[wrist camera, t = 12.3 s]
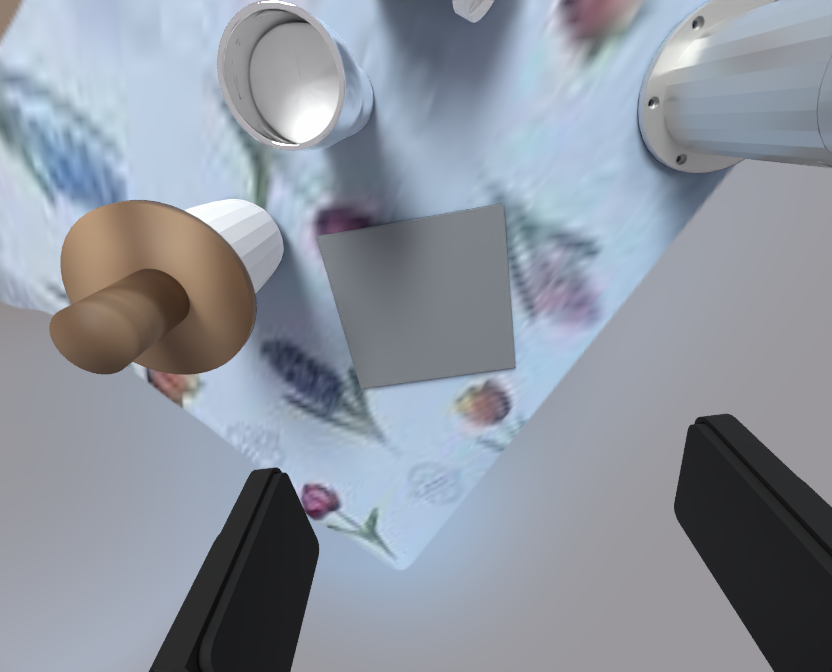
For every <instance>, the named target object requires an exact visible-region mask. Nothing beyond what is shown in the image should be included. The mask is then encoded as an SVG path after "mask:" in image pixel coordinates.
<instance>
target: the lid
mask: <svg viewBox="0 0 832 672" xmlns="http://www.w3.org/2000/svg"><path fill="white" fill-rule="evenodd" d="M61 274H62V280H63V283H64V287H65V290H66V293H67V295H68V297H69V300H70V302H71V304H72V305H70V306H68V307H66V308H64V309H62V310H60V311H59V312H57V313H56V314H55V315H54V316H53V318H52V319H51V322H50V335H51V338H52V341H53V343H54V344H55V346H56V348H57V349H58V350H59V352H60V353H61V354H62V355H63V356H64V357H65V358H66V359H67V360H69V361H70V362H71V363H73V364H74V365H76V366H78V367H79V368H81V369H84V370H86V371H89V372H92V373H96V374H112V373H116V372H119V371H121V370H123V369H124V368H125V367H126V366H128V365H129V364H130V363H131V362H134V363H137V364H139V365H141V366H144V367H147V368H150V369H153V370H156V371H160V372H165V373H171V374H198V373H203V372H208V371H210V370H213V369H216V368H218V367H220V366H222V365H224V364H226V363H227V362H228V361H229V360H231V359H232V358H233V357H234V356H235V355H236V354H237V353H238V352H239V351H240V349H241V348H242V347H243V346H244V345H245V343H246V342H247V340H248V339H249V337H250V335H251V333H252V330H253V328H254V324H255V320H256V311H257V306H256V296H255V291H254V287H253V284H252V281H251V278H250V275H249V273H248V271H247V269H246V267H245V265H244V264H243V262H242V260H241V259H240V257H239V255H238V254H237V253H236V252H235V250H234V249H233V248H232V246H231V245H230V244H229V243H228V242H227V241H226V240H225V239H224V238H223V237H222V236H221V235H220V234H219V233H218V232H217V231H215V230H214V229H213V228H212V227H211V226H209V225H208V224H206V223H205V222H203V221H202V220H200V219H199V218H197V217H196V216H194V215H192V214H190V213H188V212H186V211H184V210H181V209H179V208H176V207H174V206H171V205H167V204H164V203H160V202H155V201H148V200H129V201H121V202H117V203H113V204H109V205H106V206H102V207H99V208H96V209H94V210H92V211H90V212H88V213H87V214H85V215H84V216H83V217H81V218H80V219H79V220H78V221H77V222H76V223H75V224H74V225H73V226H72V227H71V229H70V231H69V232H68V234H67V236H66V238H65V241H64V244H63V246H62V252H61Z"/></svg>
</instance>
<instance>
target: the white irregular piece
mask: <svg viewBox="0 0 832 672" xmlns="http://www.w3.org/2000/svg"><path fill="white" fill-rule="evenodd" d="M493 2H494V0H452V3H453V9H454V11H455V13H456V14H458V15H460V16H461V17H463V18H465V19H467V20H469V21H470V22H472V23H475V22H478V21H479V20H480V19H481V18H482V17H483V16H484V15H485V14H486V13H487V11H488V10H489V9H490V7H491V5H492V4H493Z"/></svg>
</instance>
